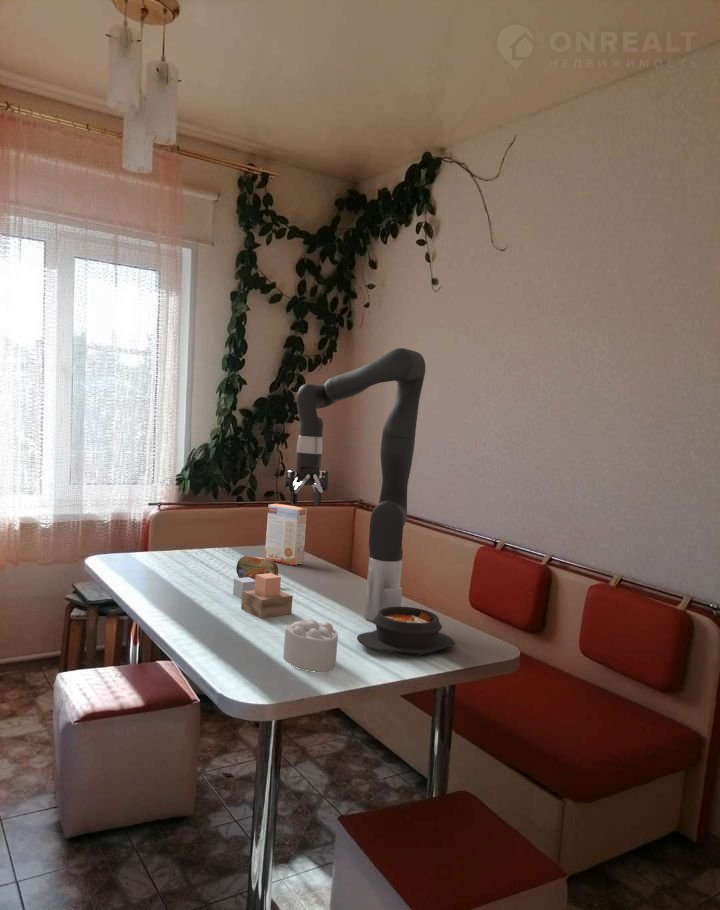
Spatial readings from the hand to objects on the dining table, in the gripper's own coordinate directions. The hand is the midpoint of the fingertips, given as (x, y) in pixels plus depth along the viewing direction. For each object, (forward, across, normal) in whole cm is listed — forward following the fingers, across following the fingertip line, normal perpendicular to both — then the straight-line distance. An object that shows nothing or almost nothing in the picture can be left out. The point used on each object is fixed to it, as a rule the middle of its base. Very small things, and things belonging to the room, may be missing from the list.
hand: (305, 505), depth 213 cm
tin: (+28, -2, +20) cm, 35 cm away
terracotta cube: (+23, -17, -8) cm, 30 cm away
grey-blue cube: (+28, -14, +8) cm, 32 cm away
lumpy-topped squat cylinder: (+28, -30, -46) cm, 62 cm away
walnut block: (+28, -17, -8) cm, 34 cm away
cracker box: (+28, +24, +42) cm, 56 cm away
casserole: (+28, -3, -49) cm, 57 cm away
